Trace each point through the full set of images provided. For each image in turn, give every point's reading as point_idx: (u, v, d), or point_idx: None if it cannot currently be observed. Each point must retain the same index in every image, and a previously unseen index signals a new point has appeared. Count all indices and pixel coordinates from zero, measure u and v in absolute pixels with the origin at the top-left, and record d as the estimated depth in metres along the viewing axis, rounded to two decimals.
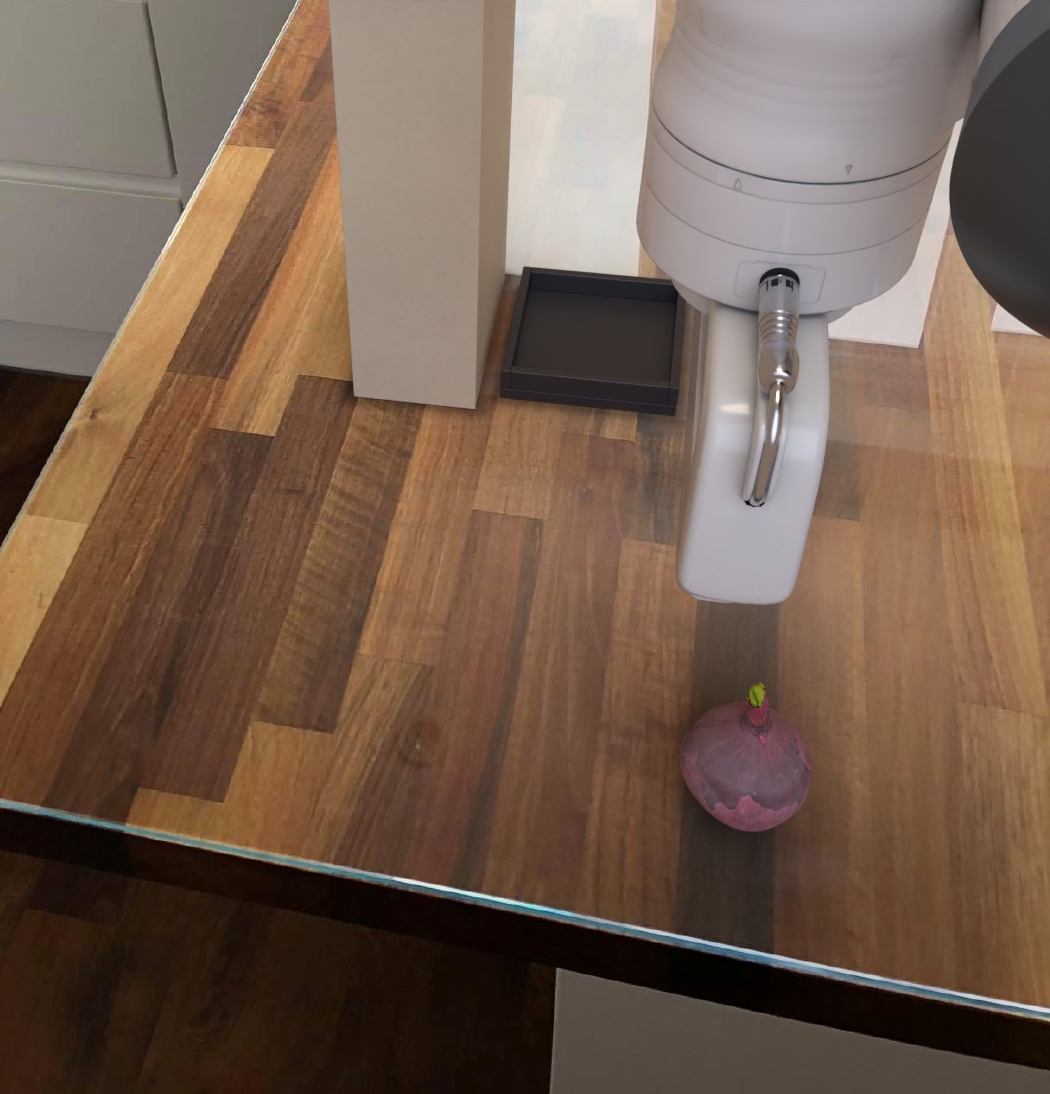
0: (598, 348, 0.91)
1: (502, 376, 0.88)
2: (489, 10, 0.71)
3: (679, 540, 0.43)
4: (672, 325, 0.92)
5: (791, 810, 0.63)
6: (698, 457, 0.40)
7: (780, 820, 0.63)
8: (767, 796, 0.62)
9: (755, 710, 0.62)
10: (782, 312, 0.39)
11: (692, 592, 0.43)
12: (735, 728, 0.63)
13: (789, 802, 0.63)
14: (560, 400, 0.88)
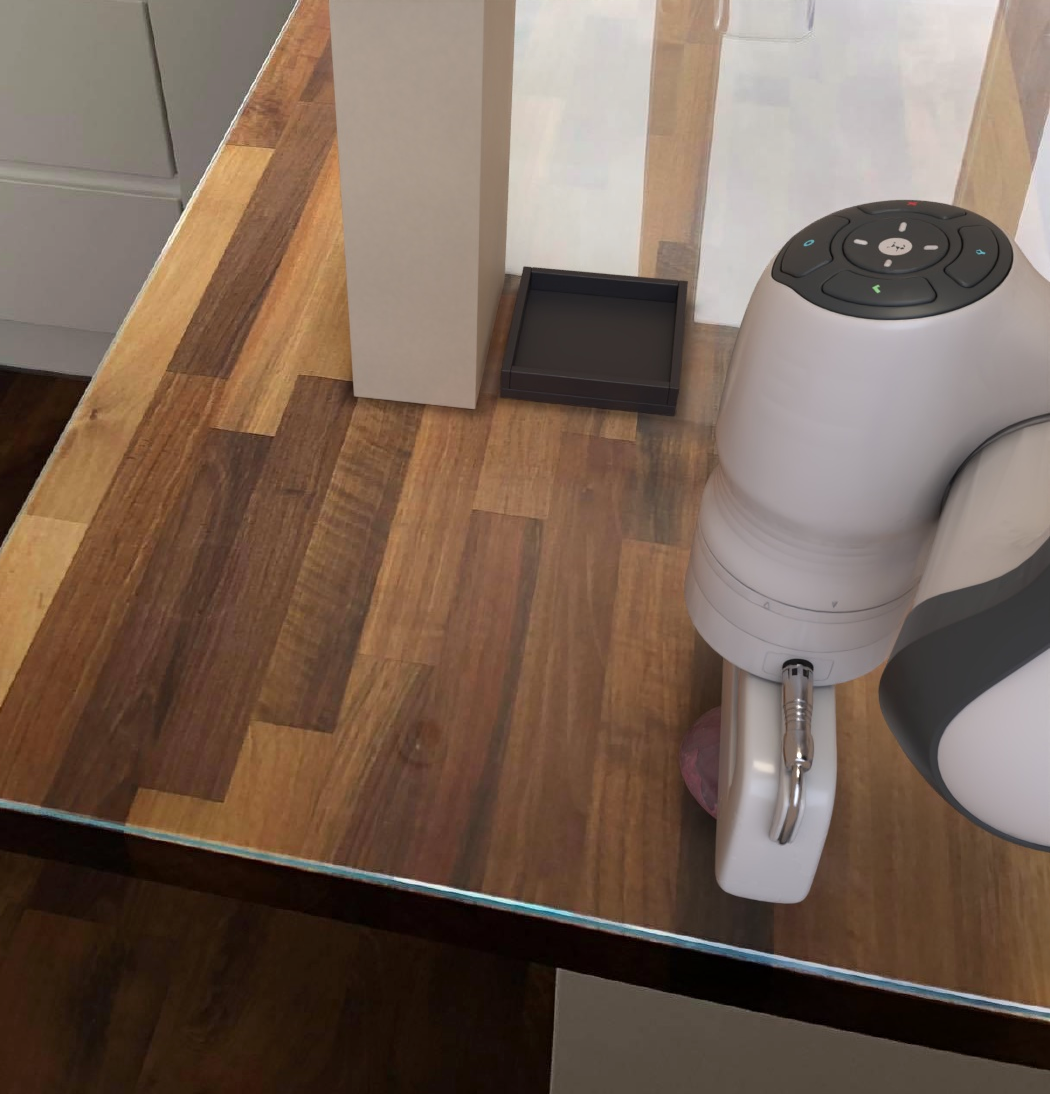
0: (598, 348, 0.91)
1: (502, 376, 0.88)
2: (489, 10, 0.71)
3: (718, 849, 0.55)
4: (672, 325, 0.92)
5: None
6: (735, 805, 0.52)
7: None
8: None
9: None
10: (800, 701, 0.51)
11: None
12: None
13: None
14: (560, 400, 0.88)
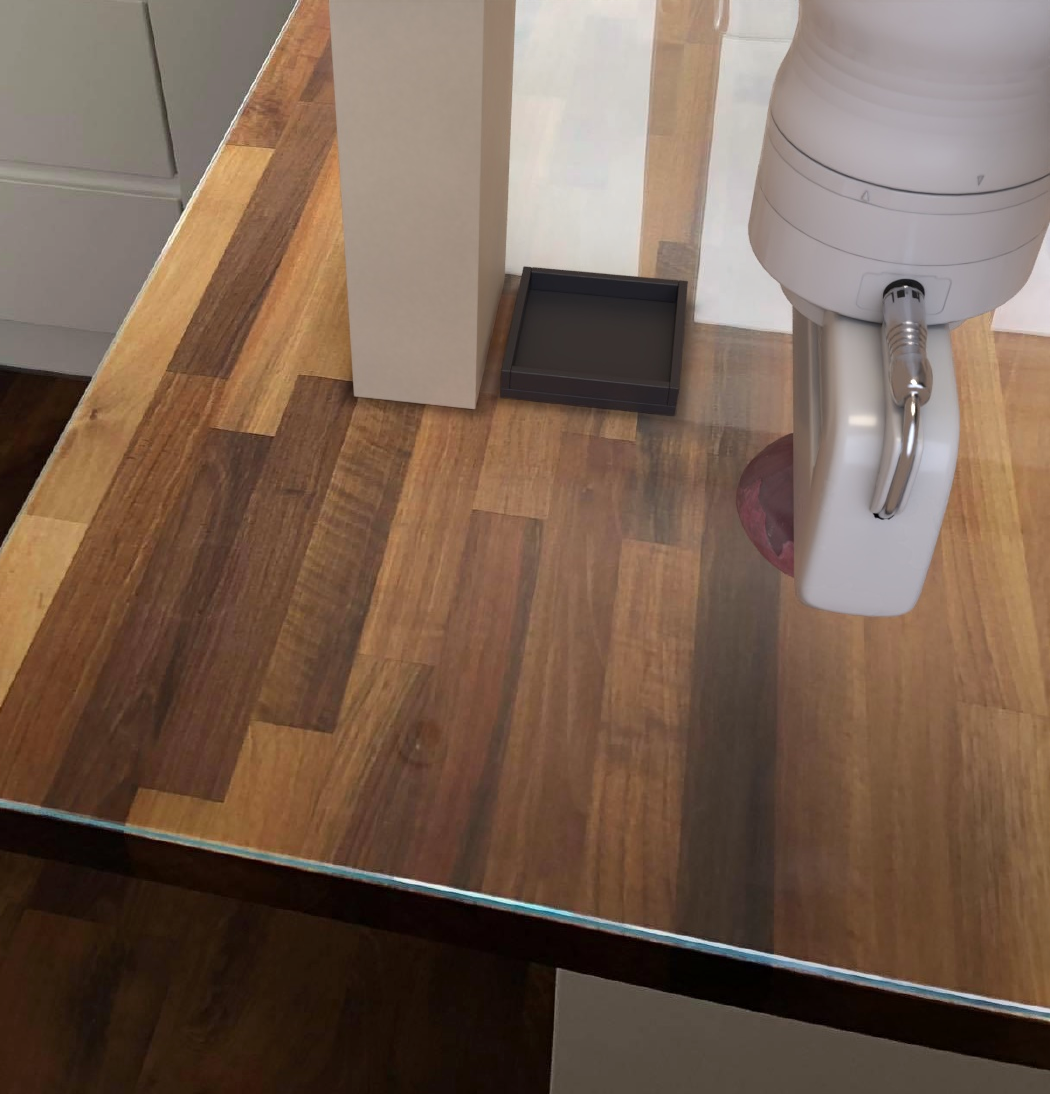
0: (598, 348, 0.91)
1: (502, 376, 0.88)
2: (489, 10, 0.71)
3: (799, 553, 0.43)
4: (672, 325, 0.92)
5: None
6: (825, 470, 0.40)
7: None
8: None
9: None
10: (911, 324, 0.39)
11: (814, 605, 0.43)
12: None
13: None
14: (560, 400, 0.88)
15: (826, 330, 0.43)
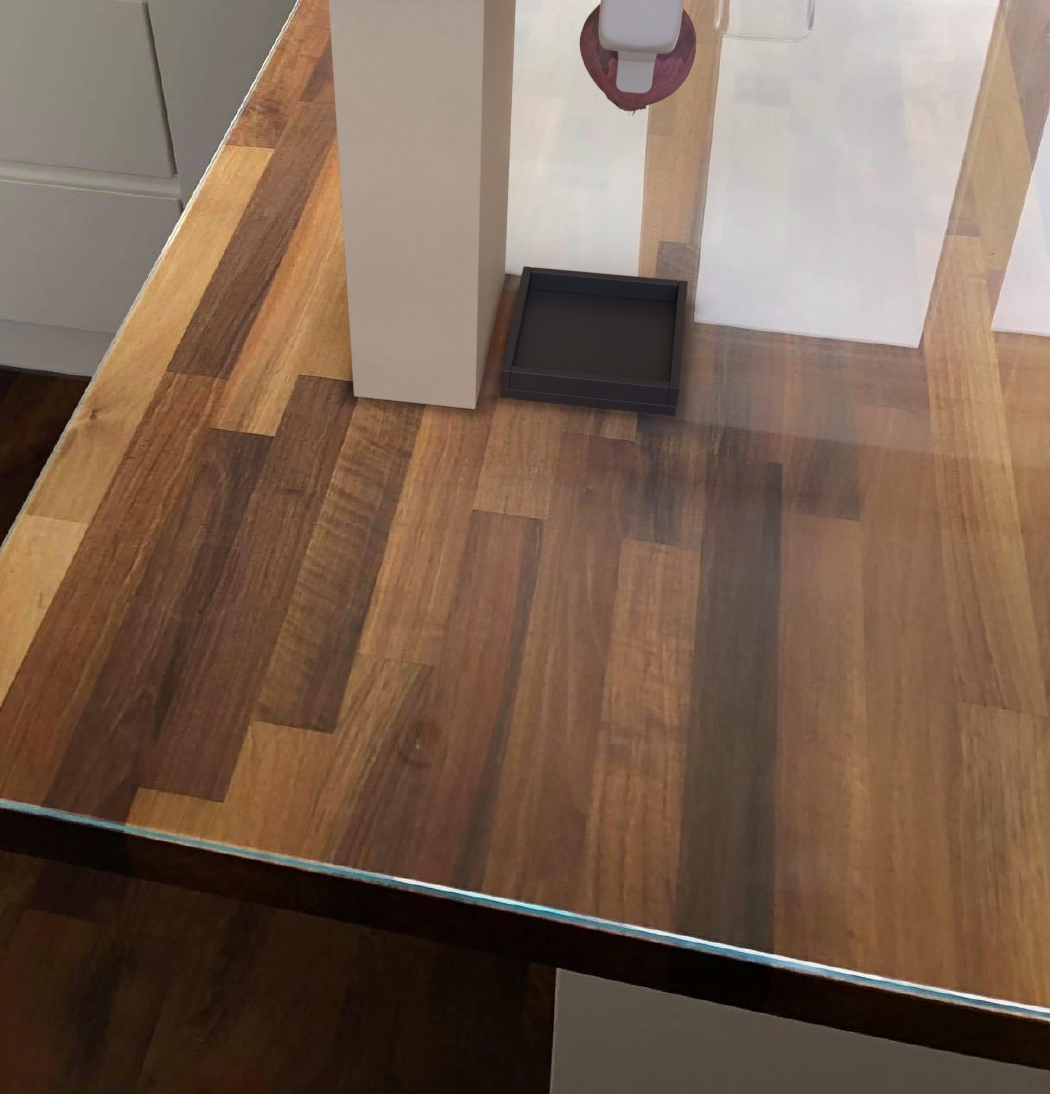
0: (598, 348, 0.91)
1: (502, 376, 0.88)
2: (489, 10, 0.71)
3: None
4: (672, 325, 0.92)
5: (676, 65, 0.70)
6: None
7: (667, 76, 0.71)
8: None
9: None
10: None
11: (609, 39, 0.62)
12: None
13: (674, 54, 0.70)
14: (560, 400, 0.88)
15: None
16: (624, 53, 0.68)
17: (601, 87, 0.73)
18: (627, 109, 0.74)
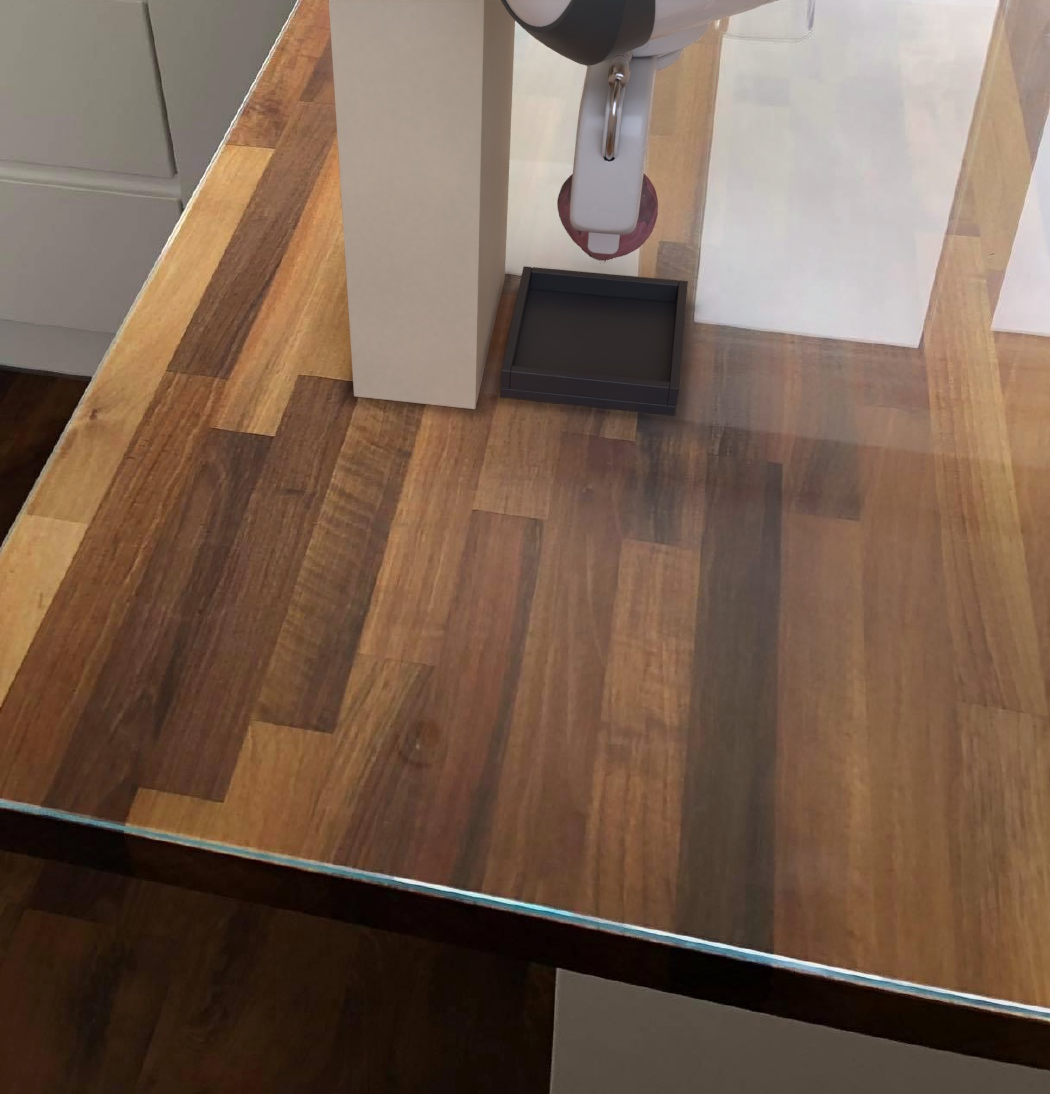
0: (598, 348, 0.91)
1: (502, 376, 0.88)
2: (489, 10, 0.71)
3: None
4: (672, 325, 0.92)
5: (640, 228, 0.81)
6: (577, 133, 0.70)
7: (632, 237, 0.82)
8: None
9: None
10: None
11: (578, 224, 0.73)
12: None
13: (638, 219, 0.81)
14: (560, 400, 0.88)
15: None
16: None
17: (576, 242, 0.84)
18: (599, 259, 0.85)
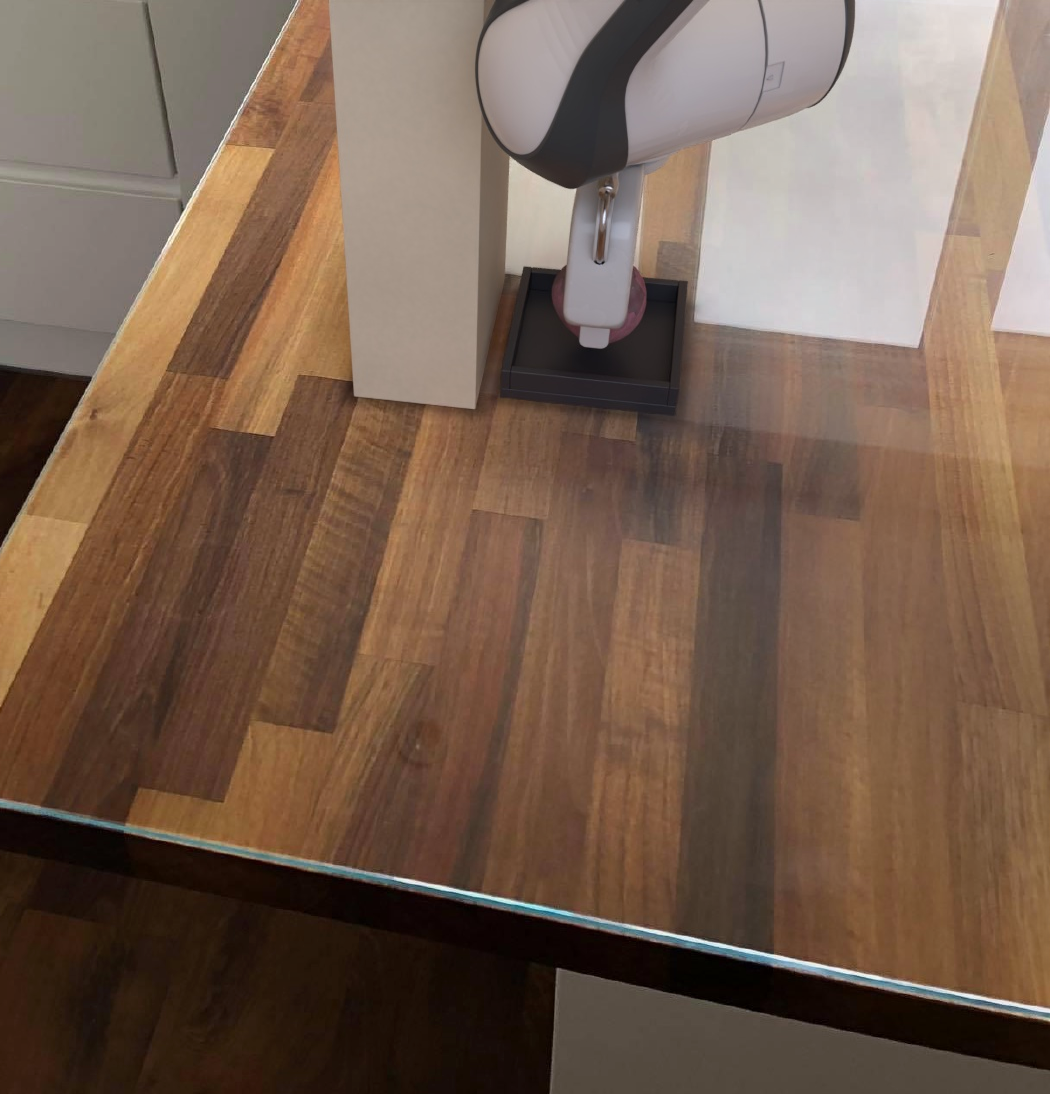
0: (598, 348, 0.91)
1: (502, 376, 0.88)
2: (489, 10, 0.71)
3: None
4: (672, 325, 0.92)
5: (629, 318, 0.86)
6: (569, 238, 0.75)
7: (622, 326, 0.87)
8: None
9: None
10: None
11: (571, 320, 0.78)
12: None
13: None
14: (560, 400, 0.88)
15: None
16: None
17: (569, 329, 0.89)
18: None
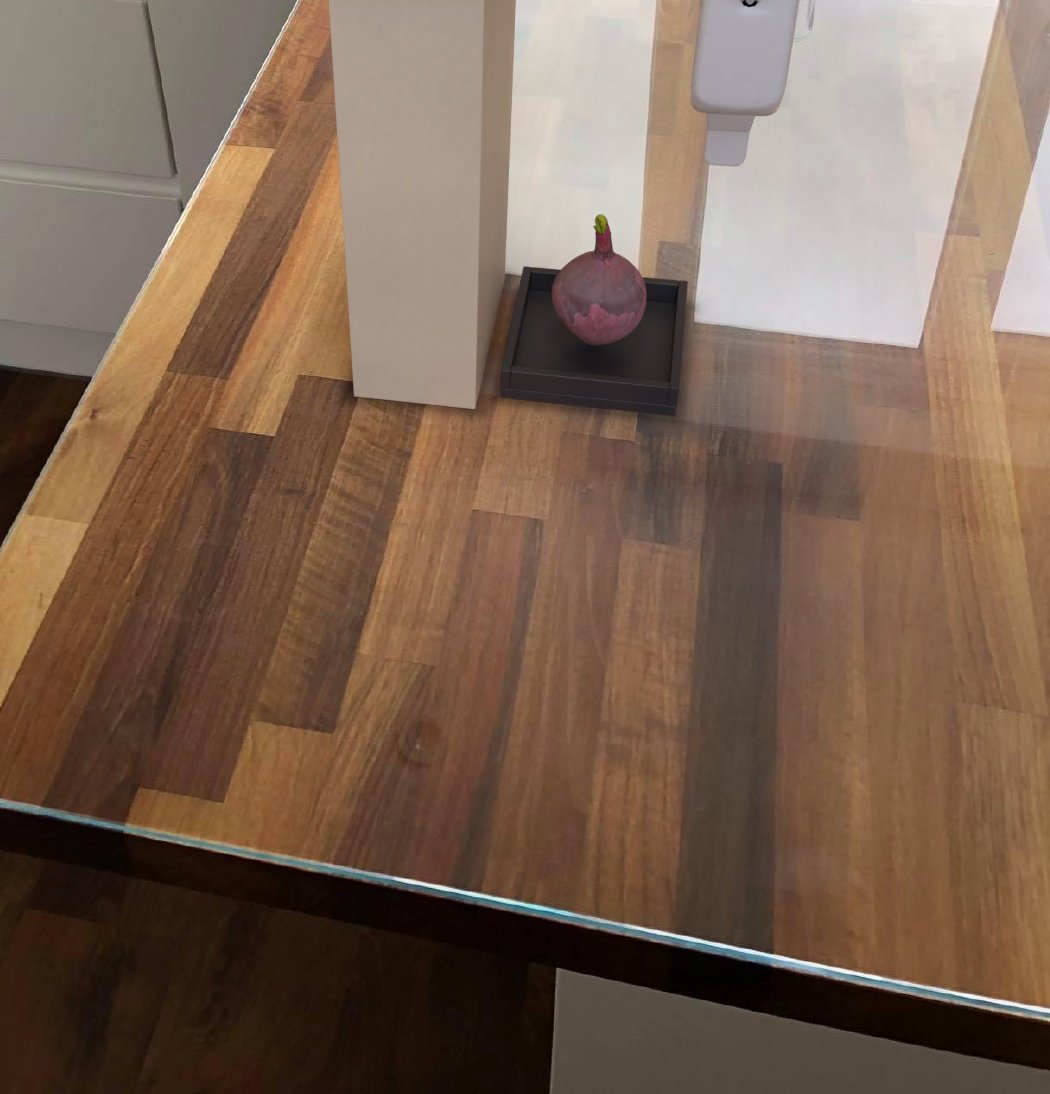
0: (598, 348, 0.91)
1: (502, 376, 0.88)
2: (489, 10, 0.71)
3: None
4: (672, 325, 0.92)
5: (629, 318, 0.86)
6: None
7: (622, 326, 0.87)
8: (611, 303, 0.86)
9: (600, 237, 0.85)
10: None
11: (703, 101, 0.54)
12: (588, 258, 0.87)
13: (627, 310, 0.86)
14: (560, 400, 0.88)
15: None
16: (714, 123, 0.59)
17: (569, 329, 0.89)
18: (591, 344, 0.90)
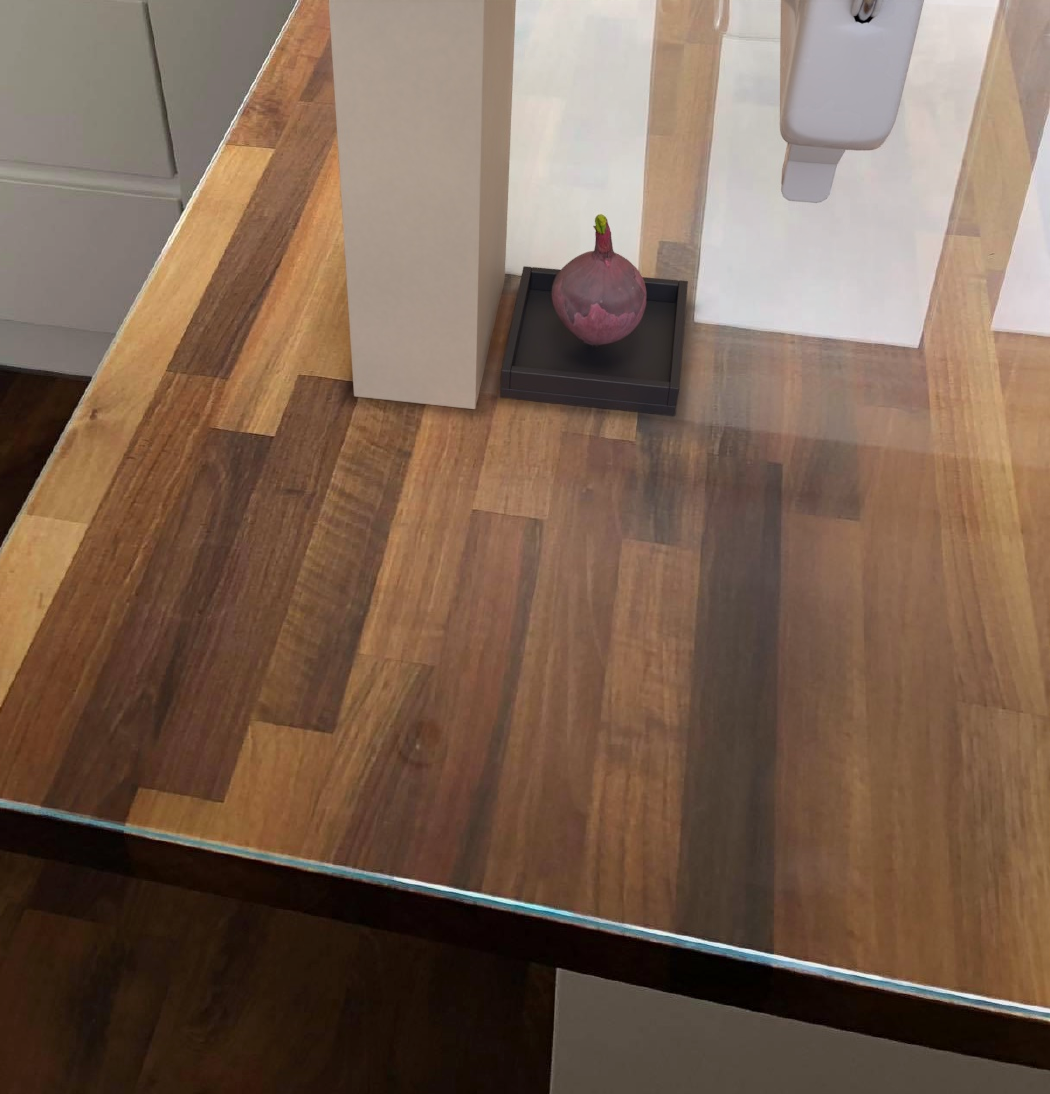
0: (598, 348, 0.91)
1: (502, 376, 0.88)
2: (489, 10, 0.71)
3: (784, 89, 0.46)
4: (672, 325, 0.92)
5: (629, 318, 0.86)
6: None
7: (622, 326, 0.87)
8: (611, 303, 0.86)
9: (600, 237, 0.85)
10: None
11: (798, 132, 0.46)
12: (588, 258, 0.87)
13: (627, 310, 0.86)
14: (560, 400, 0.88)
15: None
16: (798, 153, 0.51)
17: (569, 329, 0.89)
18: (591, 344, 0.90)
